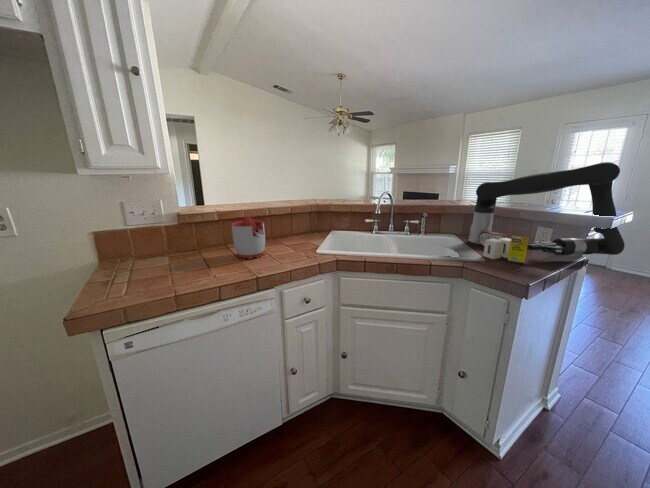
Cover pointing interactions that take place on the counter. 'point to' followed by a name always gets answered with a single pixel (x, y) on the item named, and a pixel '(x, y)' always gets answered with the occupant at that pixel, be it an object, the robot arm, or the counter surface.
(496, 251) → the numeral one block
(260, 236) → the citrus juicer
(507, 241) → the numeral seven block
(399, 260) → the counter surface
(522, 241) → the supplement box
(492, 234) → the tin
